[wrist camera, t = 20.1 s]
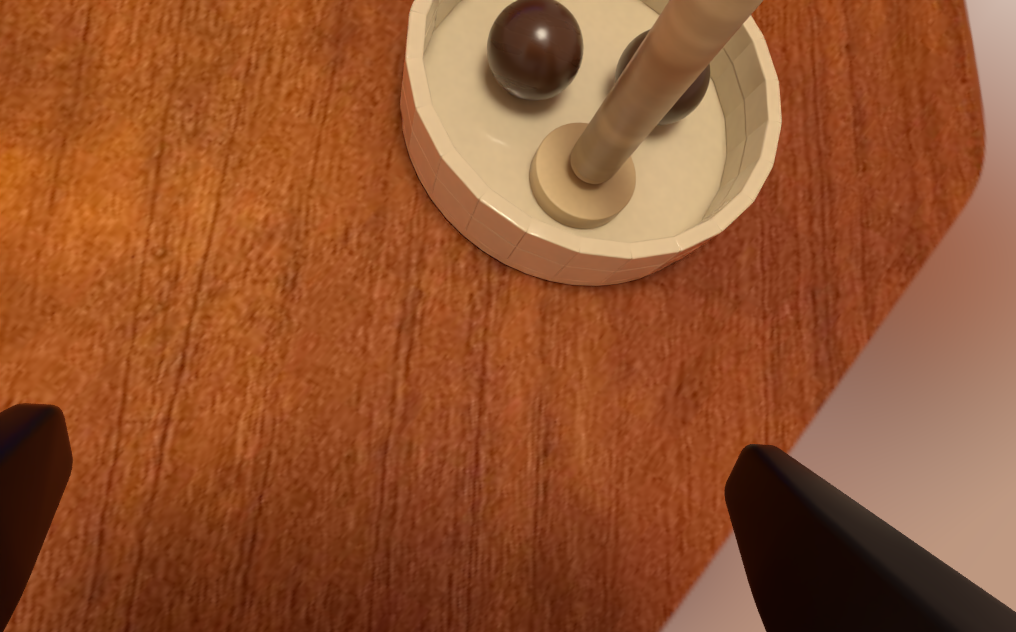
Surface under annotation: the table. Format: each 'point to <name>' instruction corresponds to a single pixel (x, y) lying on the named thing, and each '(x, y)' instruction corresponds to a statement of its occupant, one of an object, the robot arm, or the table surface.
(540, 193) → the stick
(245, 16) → the table surface
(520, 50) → the bead
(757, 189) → the bowl
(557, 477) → the table surface
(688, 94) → the bead
